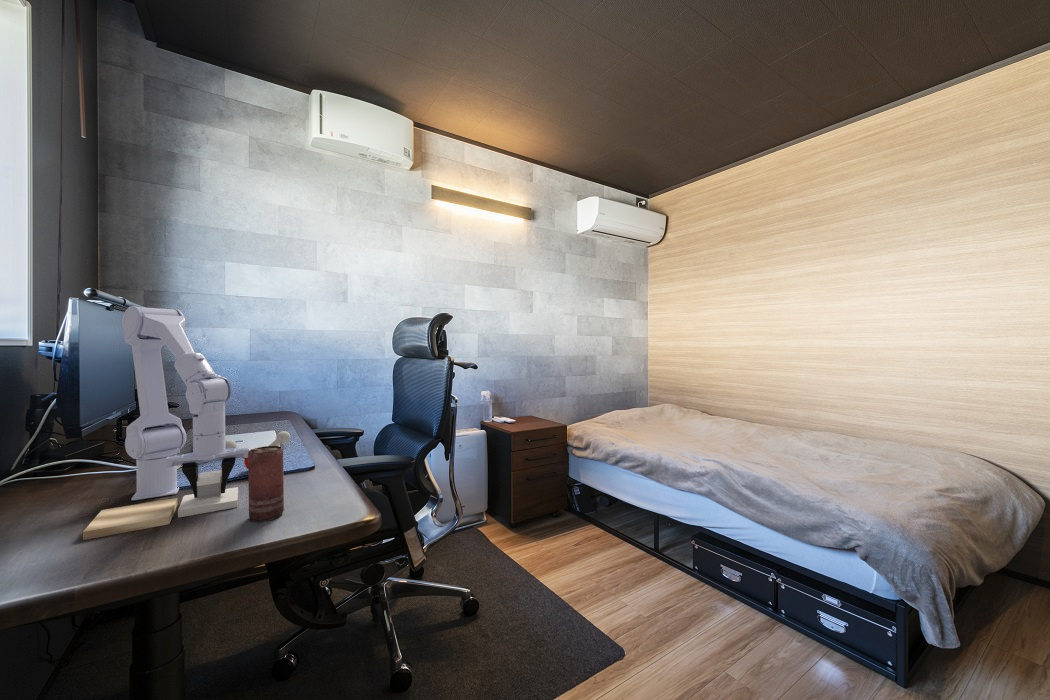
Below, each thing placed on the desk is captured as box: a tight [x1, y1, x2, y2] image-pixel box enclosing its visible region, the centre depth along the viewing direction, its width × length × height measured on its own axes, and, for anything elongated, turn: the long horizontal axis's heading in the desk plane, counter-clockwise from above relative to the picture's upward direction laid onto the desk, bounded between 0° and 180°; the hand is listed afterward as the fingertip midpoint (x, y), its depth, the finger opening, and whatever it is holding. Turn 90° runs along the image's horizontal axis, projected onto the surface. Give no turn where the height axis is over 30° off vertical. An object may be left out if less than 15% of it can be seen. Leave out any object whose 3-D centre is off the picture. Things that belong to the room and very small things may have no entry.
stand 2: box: [177, 486, 239, 518], centre depth 92 cm, size 10×10×2 cm
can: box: [247, 445, 285, 523], centre depth 86 cm, size 6×6×14 cm
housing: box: [197, 469, 222, 505], centre depth 92 cm, size 7×4×5 cm, turn 34°
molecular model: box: [225, 430, 291, 470], centre depth 117 cm, size 18×6×10 cm, turn 145°
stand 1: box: [82, 497, 179, 541], centre depth 84 cm, size 12×12×2 cm
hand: (210, 494), depth 92 cm, fingers closed on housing, 4 cm apart
